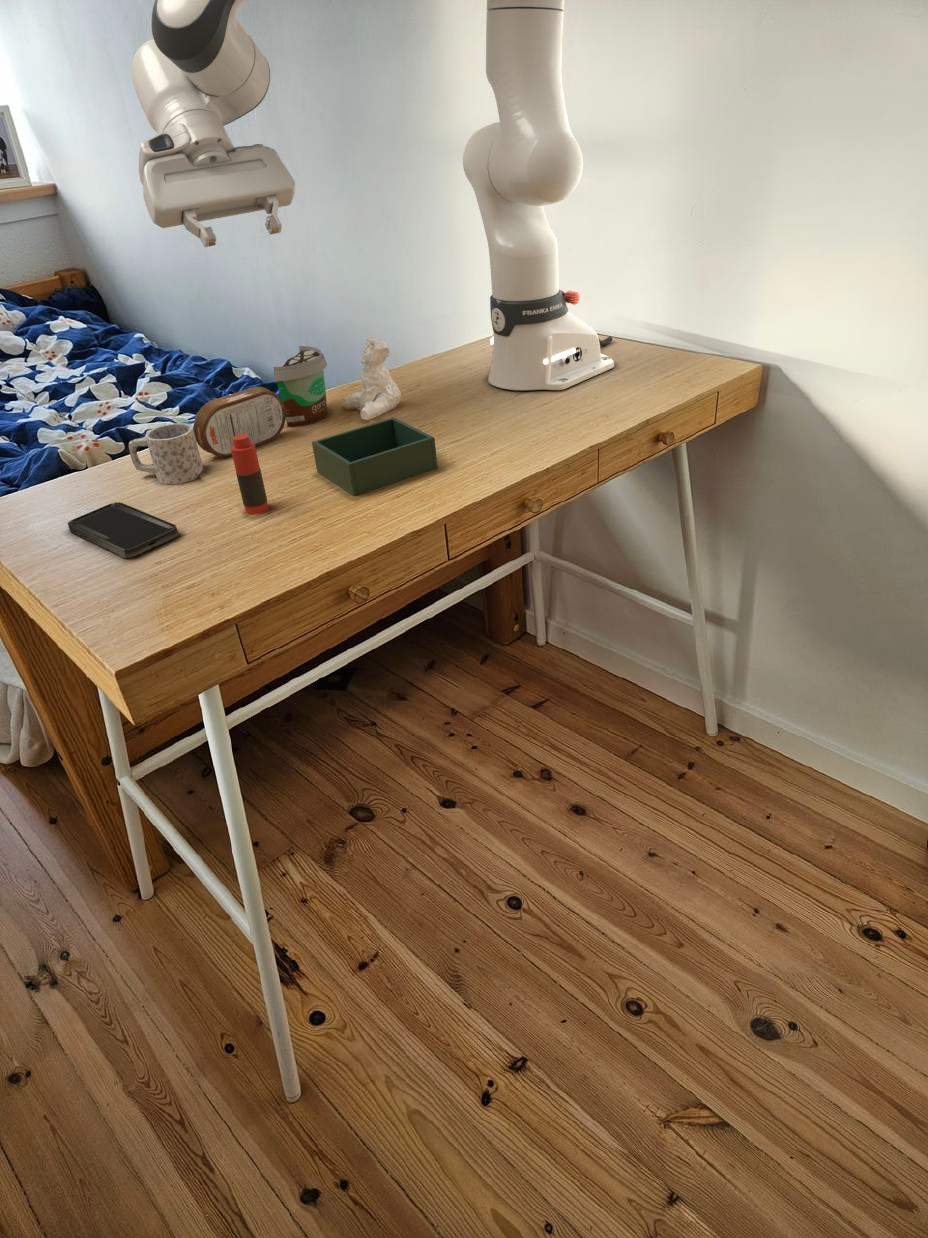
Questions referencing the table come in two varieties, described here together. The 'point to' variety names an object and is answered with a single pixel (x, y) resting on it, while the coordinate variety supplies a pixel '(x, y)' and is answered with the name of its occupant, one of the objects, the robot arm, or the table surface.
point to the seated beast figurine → (374, 383)
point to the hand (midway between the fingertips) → (244, 236)
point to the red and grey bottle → (249, 475)
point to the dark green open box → (375, 455)
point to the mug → (170, 453)
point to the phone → (123, 529)
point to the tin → (239, 420)
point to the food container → (303, 387)
